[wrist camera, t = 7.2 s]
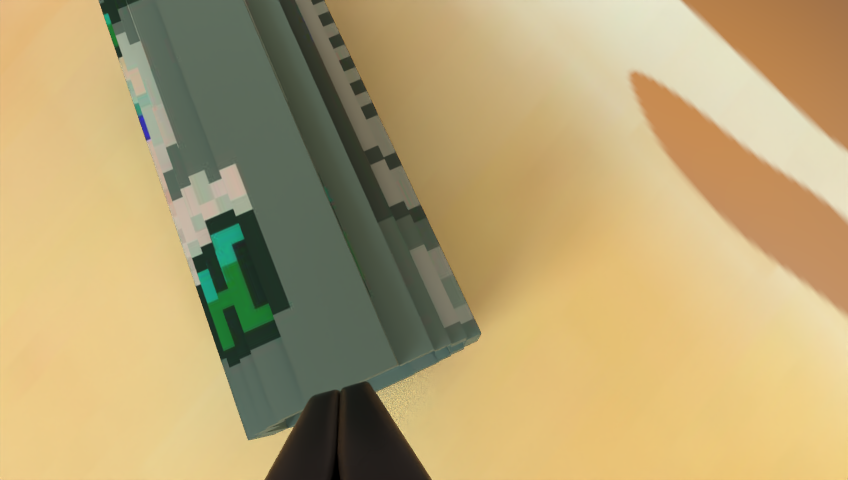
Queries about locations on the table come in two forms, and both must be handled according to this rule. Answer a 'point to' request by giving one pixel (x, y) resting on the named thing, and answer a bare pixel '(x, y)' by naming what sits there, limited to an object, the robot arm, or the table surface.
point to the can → (286, 201)
